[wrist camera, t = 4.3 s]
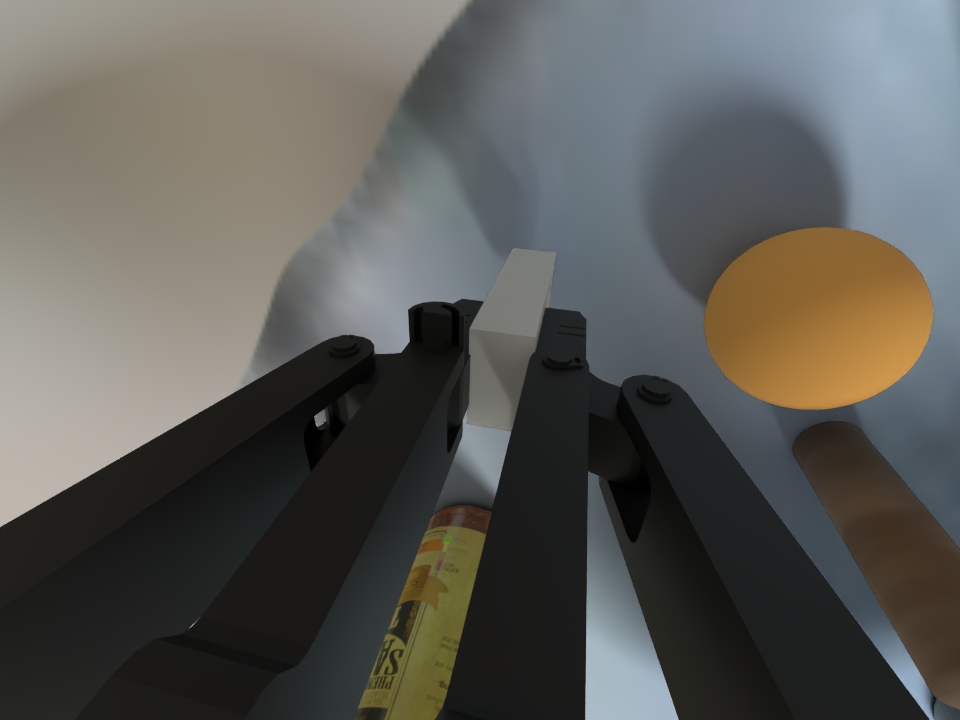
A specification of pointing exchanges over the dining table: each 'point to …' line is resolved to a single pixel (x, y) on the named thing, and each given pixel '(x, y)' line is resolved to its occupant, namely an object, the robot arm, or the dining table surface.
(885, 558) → the post
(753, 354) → the ball
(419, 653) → the sauce bottle
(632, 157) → the dining table surface
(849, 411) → the dining table surface
